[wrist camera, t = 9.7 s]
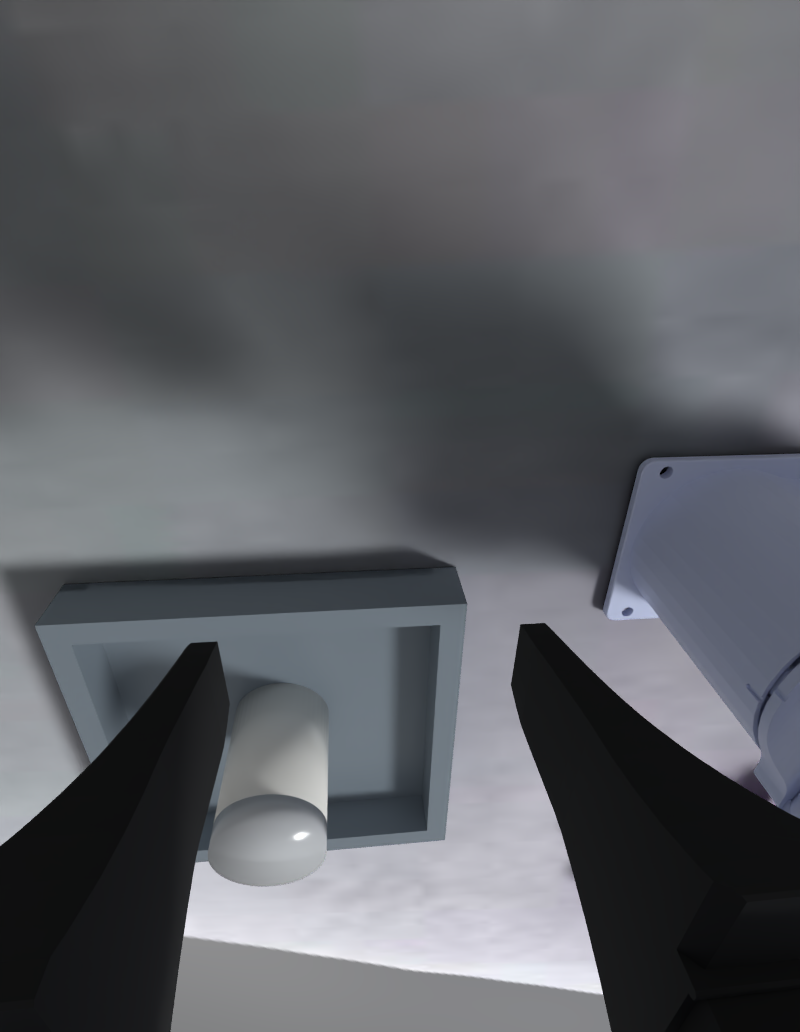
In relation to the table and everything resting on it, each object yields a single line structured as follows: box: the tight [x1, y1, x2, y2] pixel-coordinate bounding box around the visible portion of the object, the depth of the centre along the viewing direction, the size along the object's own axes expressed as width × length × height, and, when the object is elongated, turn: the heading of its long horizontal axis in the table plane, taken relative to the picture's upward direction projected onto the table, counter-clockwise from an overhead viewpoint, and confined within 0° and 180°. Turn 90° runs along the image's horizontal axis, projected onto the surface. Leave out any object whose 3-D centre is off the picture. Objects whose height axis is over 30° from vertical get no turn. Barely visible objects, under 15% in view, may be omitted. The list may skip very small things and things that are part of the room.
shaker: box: [208, 683, 329, 886], centre depth 24 cm, size 4×4×6 cm
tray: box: [35, 567, 467, 862], centre depth 26 cm, size 16×16×2 cm
